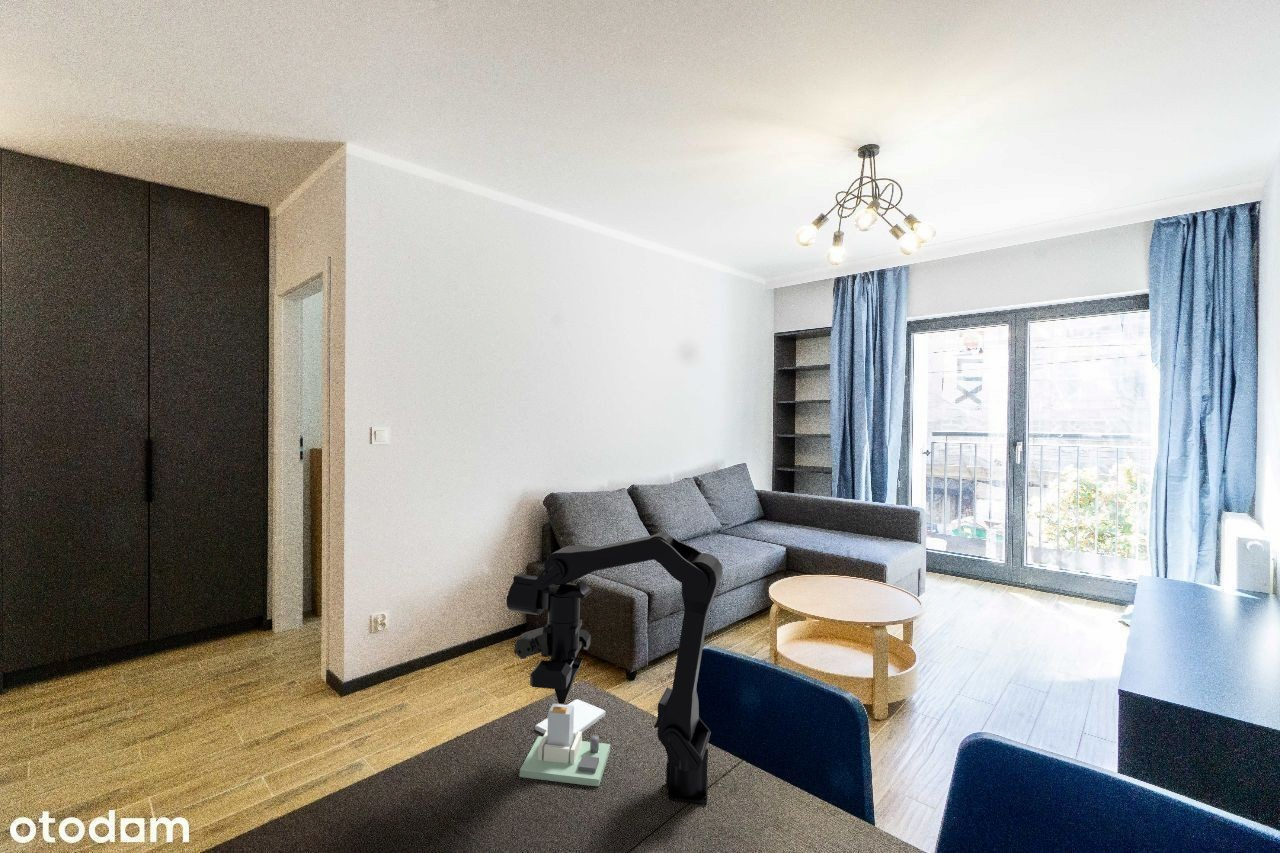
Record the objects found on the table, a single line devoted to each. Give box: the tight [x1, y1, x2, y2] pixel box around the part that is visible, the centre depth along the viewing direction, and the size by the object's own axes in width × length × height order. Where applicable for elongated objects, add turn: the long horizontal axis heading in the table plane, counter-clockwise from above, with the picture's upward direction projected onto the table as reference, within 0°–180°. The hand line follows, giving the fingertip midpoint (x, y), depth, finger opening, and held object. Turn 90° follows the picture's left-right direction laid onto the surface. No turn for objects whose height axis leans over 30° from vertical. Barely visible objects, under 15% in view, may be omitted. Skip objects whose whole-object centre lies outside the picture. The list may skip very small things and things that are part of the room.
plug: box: [547, 703, 574, 757], centre depth 98 cm, size 4×3×9 cm
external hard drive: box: [534, 698, 607, 735], centre depth 110 cm, size 2×8×12 cm
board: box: [519, 729, 611, 787], centre depth 97 cm, size 14×10×4 cm
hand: (561, 702), depth 98 cm, fingers closed
